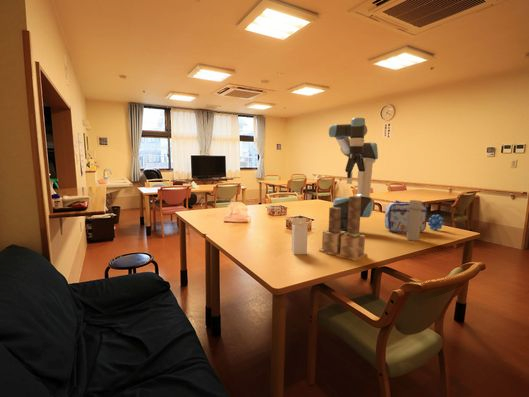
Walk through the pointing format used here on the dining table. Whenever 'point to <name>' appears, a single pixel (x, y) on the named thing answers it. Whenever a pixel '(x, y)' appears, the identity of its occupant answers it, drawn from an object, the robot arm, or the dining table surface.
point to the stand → (343, 245)
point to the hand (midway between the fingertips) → (354, 183)
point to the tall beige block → (414, 220)
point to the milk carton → (299, 236)
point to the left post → (334, 219)
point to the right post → (354, 216)
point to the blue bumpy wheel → (435, 222)
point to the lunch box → (401, 216)
